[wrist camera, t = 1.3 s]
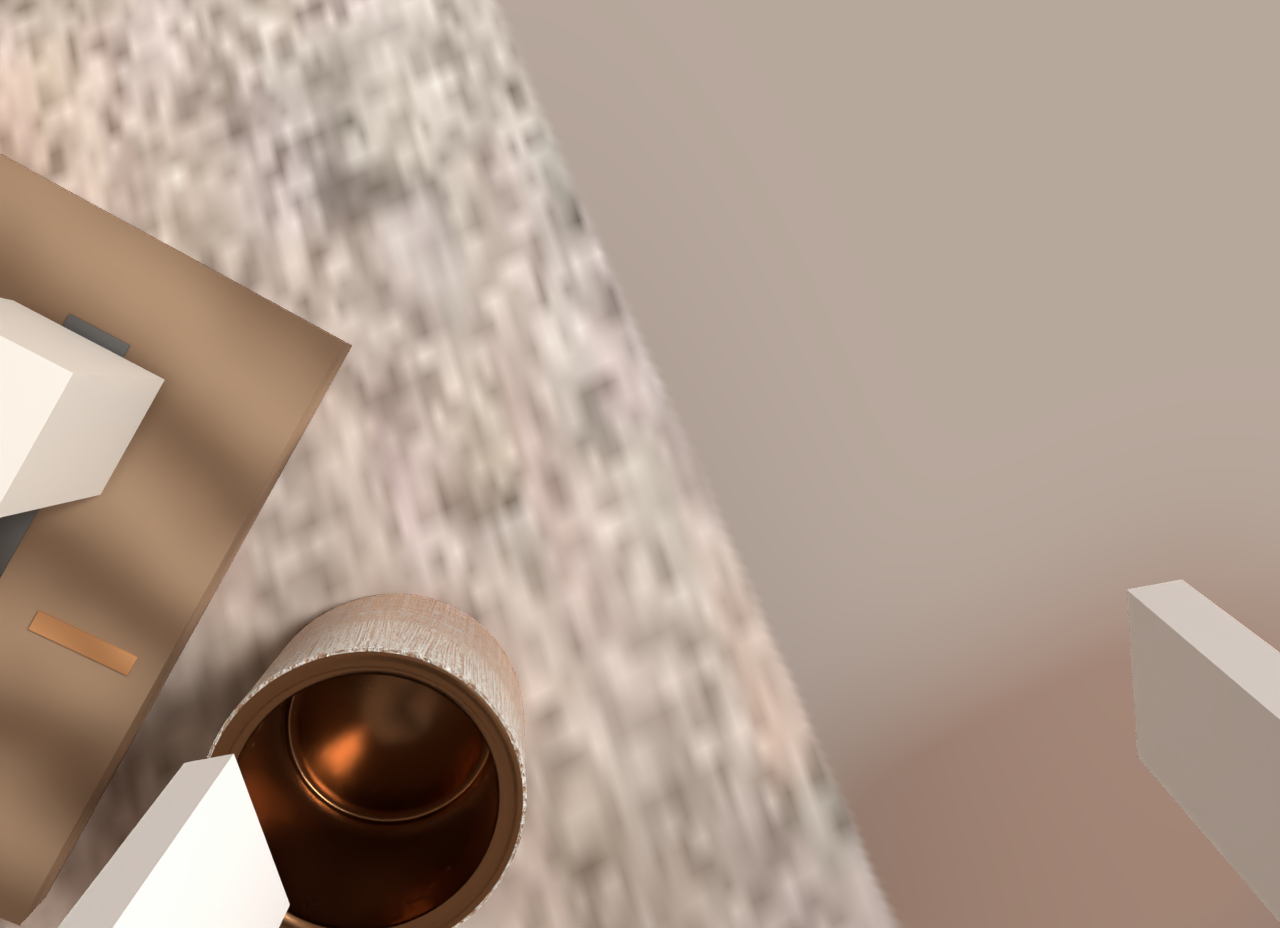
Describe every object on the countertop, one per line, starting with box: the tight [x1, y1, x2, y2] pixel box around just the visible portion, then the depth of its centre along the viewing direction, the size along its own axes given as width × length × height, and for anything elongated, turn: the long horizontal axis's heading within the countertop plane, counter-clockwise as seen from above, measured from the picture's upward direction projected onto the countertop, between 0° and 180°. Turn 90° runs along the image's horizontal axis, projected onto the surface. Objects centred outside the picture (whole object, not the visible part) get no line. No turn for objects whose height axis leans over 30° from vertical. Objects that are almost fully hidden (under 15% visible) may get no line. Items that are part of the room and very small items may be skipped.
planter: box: [206, 594, 527, 928], centre depth 37 cm, size 11×11×10 cm
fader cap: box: [0, 298, 164, 517], centre depth 33 cm, size 5×6×8 cm
